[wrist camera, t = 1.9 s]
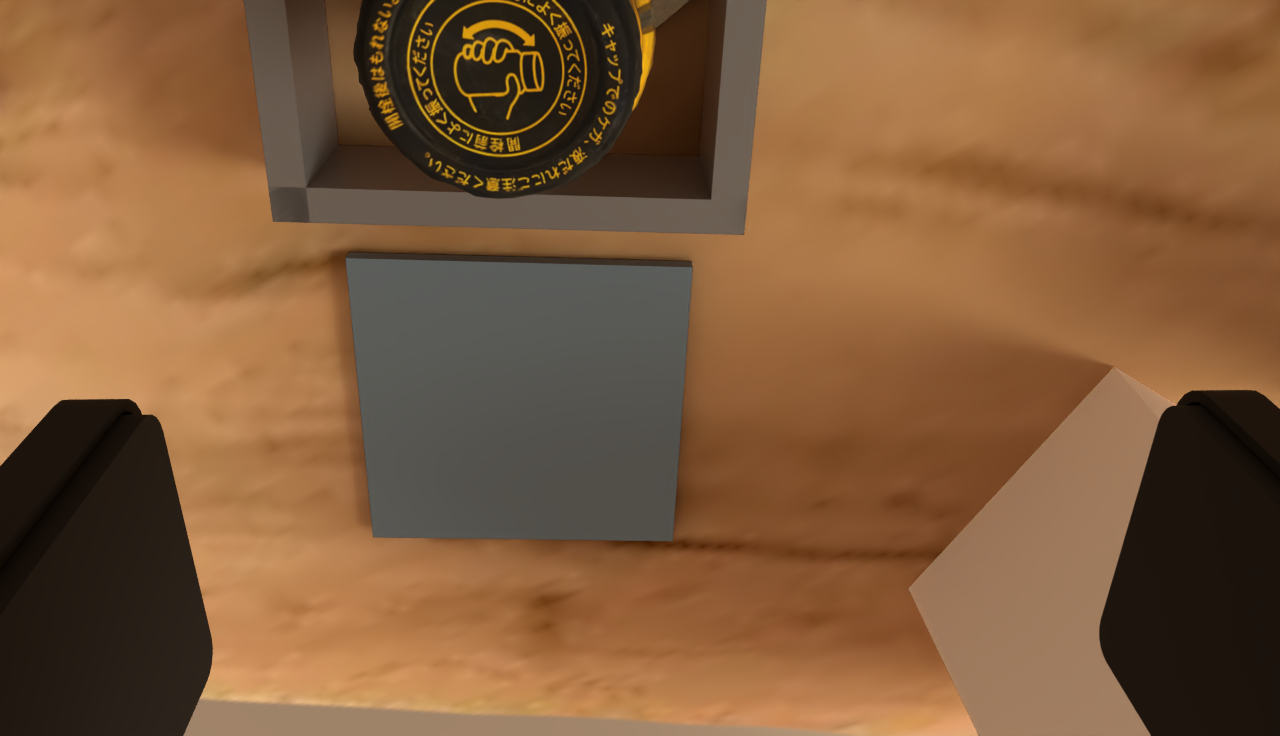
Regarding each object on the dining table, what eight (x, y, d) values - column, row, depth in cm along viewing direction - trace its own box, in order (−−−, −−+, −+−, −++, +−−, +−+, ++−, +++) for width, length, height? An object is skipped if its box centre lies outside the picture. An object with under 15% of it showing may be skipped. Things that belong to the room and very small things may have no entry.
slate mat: (348, 252, 33) (345, 258, 33) (691, 261, 34) (692, 267, 33) (375, 528, 39) (373, 537, 38) (671, 532, 39) (672, 541, 39)
